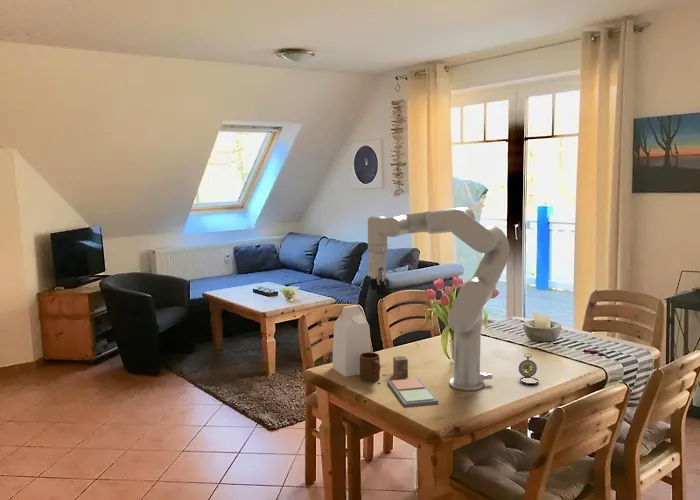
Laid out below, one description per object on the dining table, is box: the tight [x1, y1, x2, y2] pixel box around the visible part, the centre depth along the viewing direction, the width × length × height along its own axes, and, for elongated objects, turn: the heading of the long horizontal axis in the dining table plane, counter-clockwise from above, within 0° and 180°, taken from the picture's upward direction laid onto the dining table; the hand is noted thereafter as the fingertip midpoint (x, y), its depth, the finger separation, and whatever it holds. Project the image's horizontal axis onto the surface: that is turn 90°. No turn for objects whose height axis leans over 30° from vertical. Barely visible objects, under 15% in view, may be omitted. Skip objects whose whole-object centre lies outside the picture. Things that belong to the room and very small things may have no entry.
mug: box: [359, 351, 381, 383], centre depth 223 cm, size 12×8×9 cm, turn 23°
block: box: [392, 355, 409, 379], centre depth 228 cm, size 4×4×7 cm
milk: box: [331, 305, 372, 377], centre depth 235 cm, size 12×12×26 cm
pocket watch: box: [518, 352, 539, 385], centre depth 220 cm, size 8×8×10 cm
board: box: [387, 377, 439, 407], centre depth 211 cm, size 12×22×1 cm, turn 11°
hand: (377, 292), depth 229 cm, fingers open, 9 cm apart
